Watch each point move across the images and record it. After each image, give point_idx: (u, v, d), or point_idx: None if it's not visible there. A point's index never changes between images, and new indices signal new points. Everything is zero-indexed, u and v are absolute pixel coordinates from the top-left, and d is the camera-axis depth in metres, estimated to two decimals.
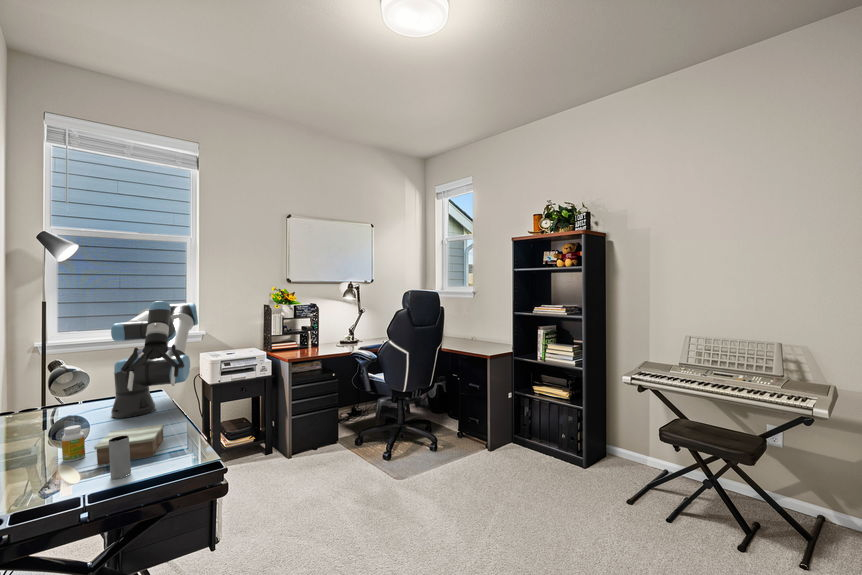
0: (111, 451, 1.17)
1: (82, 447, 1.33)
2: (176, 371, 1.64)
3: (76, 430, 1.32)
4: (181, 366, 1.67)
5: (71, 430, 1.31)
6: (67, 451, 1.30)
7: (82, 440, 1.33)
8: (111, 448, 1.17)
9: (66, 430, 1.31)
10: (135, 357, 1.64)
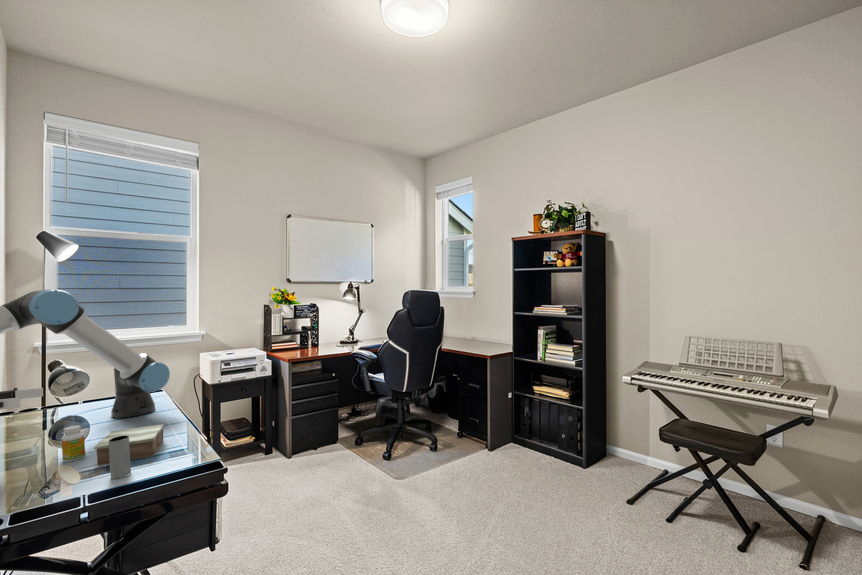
0: (111, 451, 1.17)
1: (82, 447, 1.33)
2: None
3: (76, 430, 1.32)
4: None
5: (71, 430, 1.31)
6: (67, 451, 1.30)
7: (82, 440, 1.33)
8: (111, 448, 1.17)
9: (66, 430, 1.31)
10: None
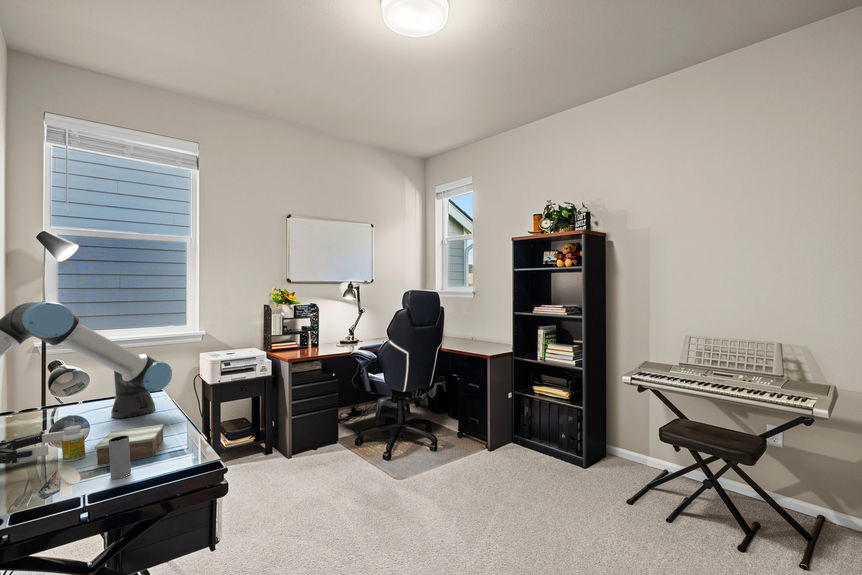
0: (111, 451, 1.17)
1: (82, 447, 1.33)
2: None
3: (76, 430, 1.32)
4: (11, 457, 1.20)
5: (71, 430, 1.31)
6: (67, 451, 1.30)
7: (82, 440, 1.33)
8: (111, 448, 1.17)
9: (66, 430, 1.31)
10: None
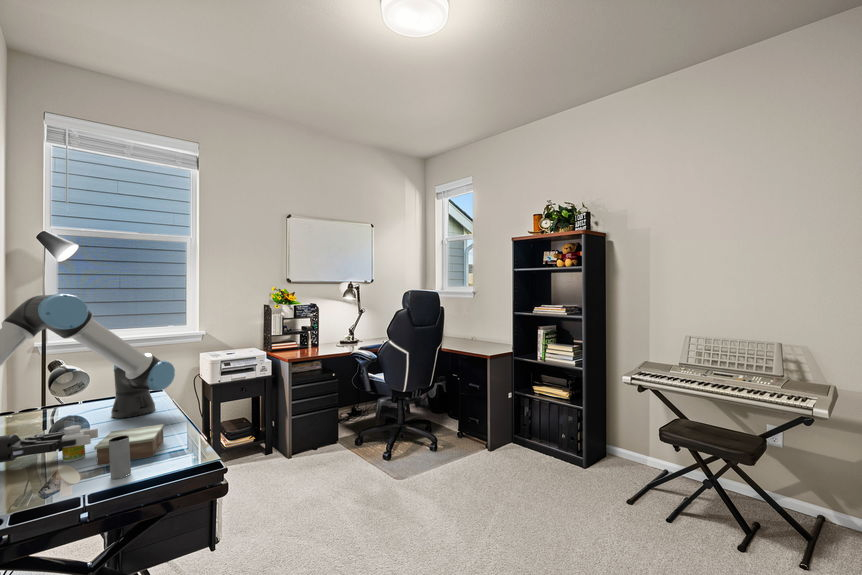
0: (111, 451, 1.17)
1: (82, 447, 1.33)
2: None
3: (76, 430, 1.32)
4: (57, 446, 1.27)
5: (71, 430, 1.31)
6: (67, 451, 1.30)
7: None
8: (111, 448, 1.17)
9: (66, 430, 1.31)
10: None
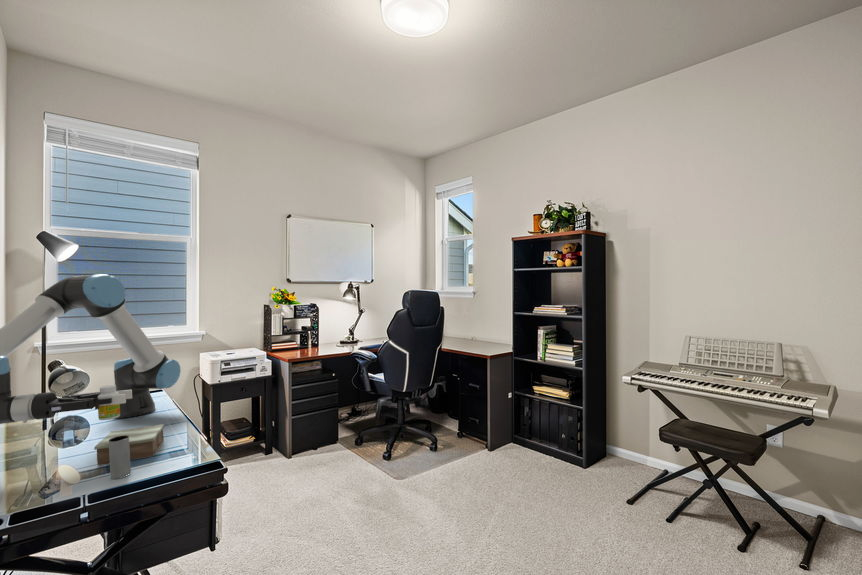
0: (111, 451, 1.17)
1: (117, 406, 1.34)
2: None
3: (112, 389, 1.33)
4: (94, 403, 1.28)
5: (107, 389, 1.32)
6: (102, 409, 1.31)
7: None
8: (111, 448, 1.17)
9: (102, 389, 1.32)
10: None
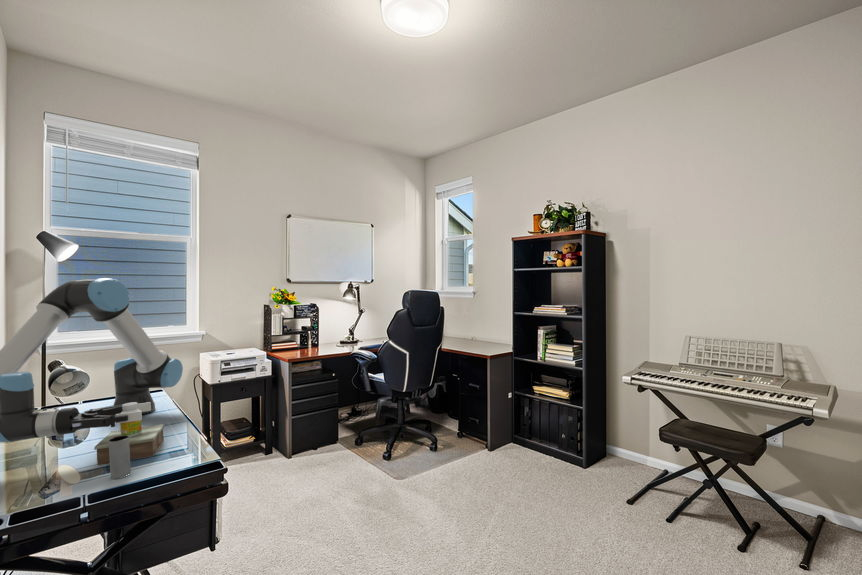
0: (111, 451, 1.17)
1: (139, 423, 1.36)
2: None
3: (134, 407, 1.35)
4: (110, 421, 1.27)
5: (129, 406, 1.34)
6: (125, 426, 1.33)
7: None
8: (111, 448, 1.17)
9: (124, 406, 1.34)
10: None
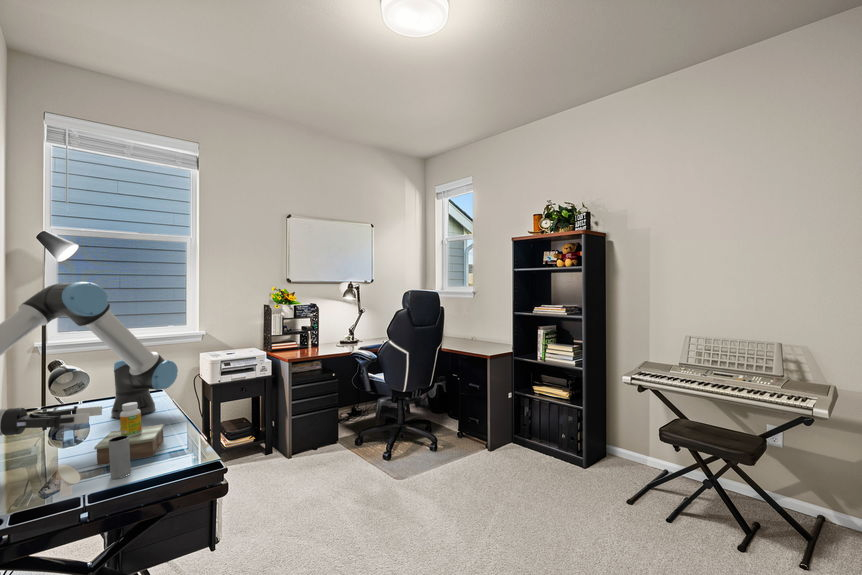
0: (111, 451, 1.17)
1: (139, 423, 1.36)
2: (66, 422, 1.25)
3: (134, 407, 1.35)
4: (54, 422, 1.23)
5: (129, 406, 1.34)
6: (125, 426, 1.33)
7: (139, 416, 1.36)
8: (111, 448, 1.17)
9: (124, 406, 1.34)
10: None
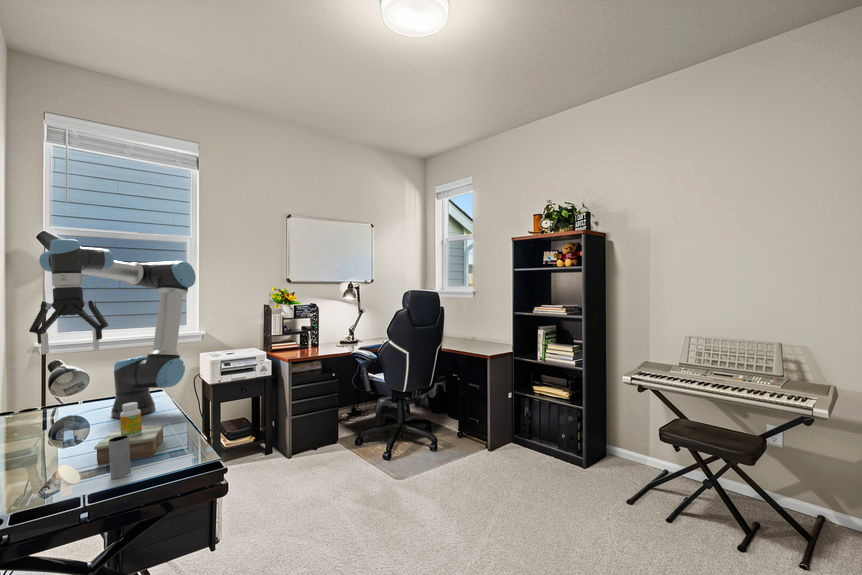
0: (111, 451, 1.17)
1: (139, 423, 1.36)
2: (98, 334, 1.44)
3: (134, 407, 1.35)
4: (104, 327, 1.45)
5: (129, 406, 1.34)
6: (125, 426, 1.33)
7: (139, 416, 1.36)
8: (111, 448, 1.17)
9: (124, 406, 1.34)
10: (44, 313, 1.40)
